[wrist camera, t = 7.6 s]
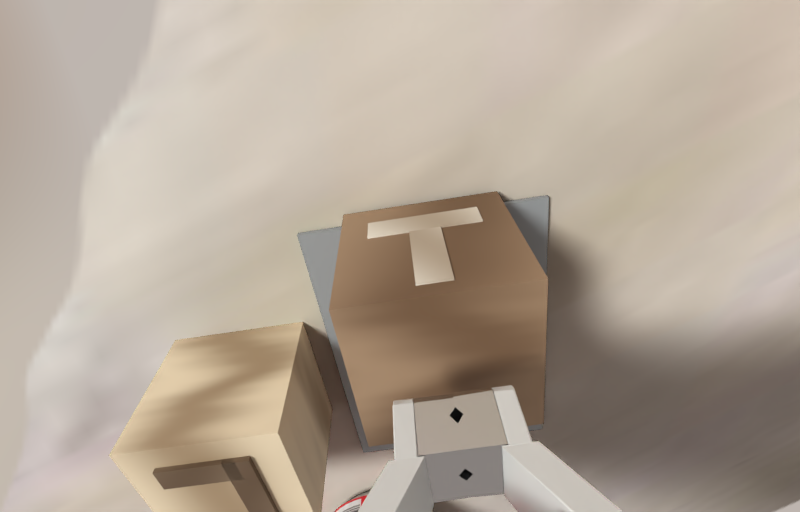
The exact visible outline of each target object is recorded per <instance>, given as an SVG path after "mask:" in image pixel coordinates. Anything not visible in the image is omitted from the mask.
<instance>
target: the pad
mask: <svg viewBox="0 0 800 512" xmlns="http://www.w3.org/2000/svg"><path fill="white" fill-rule="evenodd" d="M504 204H505V206H506V207H507V209H508V211H509V213H510V214H511V216H512V218H513V219H514V221H515V223H516V225H517V226H518V228H519V230H520V231H521V233H522V235H523V236H524V238H525V240H526V242H527V243H528V245H529V247H530V248H531V250H532V252H533V254H534V255H535V257H536V259H537V260H538V262H539V264H540V266H541V267H542V269H543V271H544V272H545V274H546V276H547V245H548V210H549V197H548V196H547V195H546V196H539V197H532V198H526V199H519V200H513V201H506V202H504ZM341 228H342V227H335V228H329V229H322V230H316V231H309V232H302V233H298V235H297V236H298V240H299V243H300V246H301V250H302V253H303V256H304V259H305V263H306V266H307V269H308V272H309V276H310V279H311V282H312V285H313V289H314V292H315V295H316V299H317V302H318V305H319V308H320V312H321V315H322V318H323V321H324V325H325V328H326V331H327V334H328V338H329V341H330V344H331V348H332V351H333V354H334V357H335V361H336V364H337V367H338V370H339V374H340V377H341V380H342V384H343V387H344V390H345V393H346V397H347V400H348V403H349V406H350V410H351V413H352V416H353V419H354V423H355V426H356V429H357V433H358V436H359V439H360V442H361V446H362V449H363V452H372V451H379V450H387V449H394V444H386V445H378V446H371V447H369V446H368V442H367V439H366V435H365V432H364V429H363V425H362V422H361V418H360V415H359V412H358V408H357V405H356V401H355V398H354V394H353V391H352V388H351V384H350V381H349V377H348V374H347V371H346V367H345V364H344V360H343V357H342V354H341V350H340V347H339V343H338V340H337V336H336V333H335V330H334V326H333V323H332V319H331V316H330V313H329V306H330V299H331V293H332V286H333V280H334V273H335V267H336V261H337V254H338V248H339V241H340V235H341ZM542 425H543V424H538V425H531V426H527V427H528V430H529V431H532V430H540V429H542Z"/></svg>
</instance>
